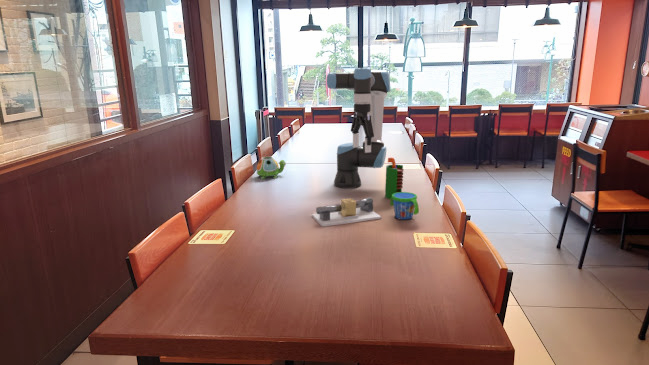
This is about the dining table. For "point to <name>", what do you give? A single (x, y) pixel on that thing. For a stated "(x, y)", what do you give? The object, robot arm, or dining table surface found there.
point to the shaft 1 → (328, 211)
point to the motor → (393, 178)
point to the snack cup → (404, 204)
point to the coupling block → (348, 207)
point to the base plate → (346, 218)
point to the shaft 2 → (365, 204)
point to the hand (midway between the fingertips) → (361, 149)
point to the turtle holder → (269, 167)
